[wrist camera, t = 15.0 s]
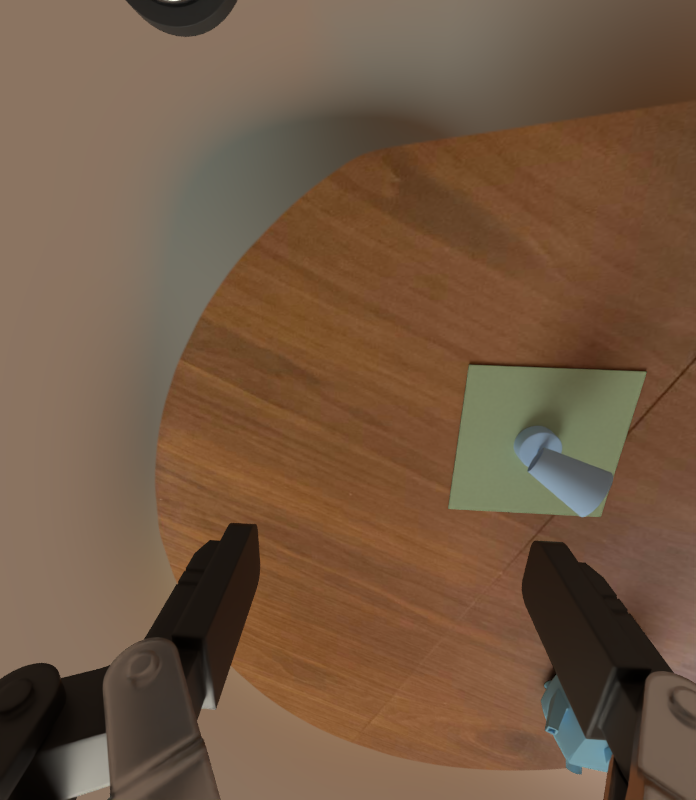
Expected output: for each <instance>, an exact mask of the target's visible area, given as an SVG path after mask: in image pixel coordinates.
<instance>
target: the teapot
mask: <svg viewBox="0 0 696 800" xmlns="http://www.w3.org/2000/svg"><path fill="white" fill-rule="evenodd" d="M544 687H545V688H546V691H545V693H544V695H543V697H542V699H541V703H542V708H543V712H544V715H545V718H546V726H545V731H547V732H549V733H551V734H553V736H554V738H555V740H556V742H557V743H558V745H559V747H560V749H561V751H562V753H563V755H564V756H565V758H566V768H567V769H568V770H570V771H571V772H573V773H576V774H582V767H585V768H590V769H594V770H598V771H603V772H608V766H609V761H610V758H611V756H612V751H611V749H610V747H609V745H608V743H607V741H606V740H594V739H586V738H585V736H584V734H583V732H582V729H581V727H580V725H579V723H578V721H577V718H576V716H575V714H574V712H573V709H572V707H571V705H570V703H569V701H568V698H567V696H566V694H565V692H564V690H563V687H562V685H561V683H560V681H559V679H558V676H557V674H556V675H555V677H554V678H553V679H552V681H548V682H546V683H545V685H544Z"/></svg>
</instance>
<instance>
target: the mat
mask: <svg viewBox="0 0 696 800" xmlns="http://www.w3.org/2000/svg"><path fill="white" fill-rule="evenodd" d="M646 373H647V372H646V371H622V370H597V369H571V368H545V367H520V366H494V365H469V368H468V375H467V382H466V388H465V395H464V402H463V409H462V416H461V423H460V430H459V437H458V444H457V451H456V458H455V464H454V471H453V478H452V485H451V492H450V499H449V506H448V509H460V510H479V511H498V512H517V513H536V514H555V515H574V516H579V515H578V514H577V513H575V512H574V511H573V510H572V509H571V508H570V507H568V506H567V505H566V504H565V503H564V502H563V501H561V500H560V499H559V498H558V497H557V496H555V495H554V494H553V493H552V492H551V491H550V490H548V489H547V488H546V487H545V486H544V485H543V484H541V483H540V482H539V481H538V480H537V479H535V478H534V477H533V476H532V475H531V474H530V473H528V472H527V470H528V467H527V466H526V465H524V464H523V463H522V461H521V460H520V459H519V457H518V456H517V455H516V453H515V451H514V441H515V439H516V437H517V436H518V434H519V433H520V432H521V431H523V430H524V429H526V428H528V427H531V426H544V427H546V428H548V429H550V430H551V431H552V432H553V433H554V434H555V435H556V436H557V437H558V438H559V439H560V441H561V443H562V453H561V454H564V455H566V456H569V457H572V458H574V459H577V460H580V461H582V462H585V463H587V464H590V465H593V466H595V467H598V468H601V469H603V470H606V471H609V472H611V473H612V474H613V476H614V473H615V470H616V467H617V464H618V461H619V458H620V454H621V451H622V448H623V445H624V442H625V439H626V436H627V432H628V429H629V426H630V423H631V420H632V417H633V414H634V410H635V407H636V404H637V401H638V398H639V395H640V392H641V388H642V385H643V382H644V379H645V376H646ZM608 492H609V491H608ZM607 495H608V493H607ZM607 495H606V497H605V498H604V500H603V501H602V502H601V504H600V505H599V506H598V507H597V508H596V509H595V510H594V511H593V512H592V513H590V514H589V515H587V516H592V517H601V514H602V511H603V508H604V505H605V502H606V498H607Z"/></svg>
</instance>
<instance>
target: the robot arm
mask: <svg viewBox="0 0 696 800" xmlns="http://www.w3.org/2000/svg"><path fill="white" fill-rule="evenodd" d="M151 1H153V2H155V3H157V4H160V5H163V6H167V7H175V8H176V7H184V6H188V5H191V4H193V3H195V2H197V1H198V0H151ZM259 575H260V556H259V541H258V529H257V525H256V524H242V523H230V524H229V525H228V527H227V529H226V531H225V533H224V535H223V537H222V539H221V540H220V541H214V540H209V541H208V542H207V543H206V544H205V545H204V546H202V547H201V548H200V549H199V550H198V551H197V552H195V554H194V555H193V557H192V559H191V561H190V562H189V564H188V566H187V567H186V571H184V572H183V574H182V576H181V578H180V579H179V581H178V585H177V584H176V586H175V588H174V590H173V591H172V593H171V595H170V596H169V598H168V600H167V601H166V603H165V605H164V607H163V608H162V610H161V612H160V614H159V615H158V617H157V619H156V620H155V622H154V624H153V626H152V627H151V629H150V630H149V632H148V634H147V636H146V637H145V638H144V640H142V641H139V642H137V643H135V644H133V645H131V646H130V647H128V648H127V649H125V650H124V651H123V652H122V653H121V654H120V655H119V656H118V657H117V658H116V659H115V660H114V661H113V662H112V664H111V665H109V666H107V667H103V668H100V669H96V670H93V671H89V672H84V673H81V674H76V675H72V676H69V677H64V678H61V677H60V675H59V672H58V670H57V669H56V668H55V667H54V666H53V665H50V664H46V663H36V664H32V665H27V666H24V667H21V668H19V669H17V670H15V671H13V672H11V673H9V674H8V675H6V676H4V677H3V678H1V679H0V800H76V798H77V796H80V795H83V794H86V793H89V792H92V791H95V790H98V789H101V788H104V787H107V786H110V798H108V800H221V799H220V796H219V792H218V789H217V785H216V781H215V778H214V774H213V771H212V767H211V763H210V759H209V756H208V752H207V749H206V746H205V742H204V740H203V738H202V737H201V734H200V731H199V727H198V723H197V719H198V716H199V714H200V711H201V709H215V710H216V708H217V704H218V702H219V699H220V696H221V693H222V690H223V687H224V684H225V681H226V678H227V675H228V672H229V669H230V666H231V663H232V660H233V657H234V654H235V651H236V648H237V645H238V642H239V639H240V636H241V633H242V630H243V627H244V624H245V621H246V619H247V616H248V613H249V610H250V607H251V604H252V601H253V598H254V595H255V592H256V589H257V585H258V581H259ZM522 594H523V599H524V603H525V605H526V608H527V610H528V612H529V614H530V617H531V619H532V621H533V623H534V626H535V628H536V630H537V632H538V634H539V637H540V639H541V641H542V643H543V645H544V648H545V650H546V652H547V654H548V656H549V659H550V661H551V663H552V665H553V667H554V670H555V672H556V674H557V676H558V679H559V681H560V683H561V685H562V687H563V690H564V692H565V694H566V696H567V698H568V701H569V703H570V705H571V707H572V709H573V712H574V714H575V716H576V718H577V721H578V723H579V725H580V727H581V729H582V732H583V734H584V736H585V738H586V739H594V740H606V741H607V743H608V745H609V747H610V749H611V751H612V756H611V758H610V761H609V766H608V773H607V779H606V786H605V792H604V799H603V800H696V683H694V682H692V681H690V680H689V679H687V678H684V677H682V676H680V675H677V674H674V672H673V671H672V670H671V669H670V667H669V666H668V664H667V663H666V662H665V660H664V659H663V658H662V656H661V655H660V654H659V652H658V651H657V650H656V648H655V647H654V645H653V644H652V643H651V641H650V640H649V639H648V637H647V636H646V635H645V633H644V632H643V630H642V629H641V628H640V626H639V625H638V624H637V622H636V621H635V620H634V618H633V617H632V616H631V614H628V612H627V609H626V607H625V606H624V605H623V603H622V602H621V601H620V599H617V595H616V594H615V592H614V591H613V590H612V588H611V587H610V586H609V584H608V583H607V582H606V580H605V579H604V578H603V577H602V576H601V575H600V574H598V573H597V572H596V571H595V570H594V569H592V568H591V567H590V566H589V565H587V564H586V563H581V562H578V561H577V560H576V558H575V557H574V555H573V554H572V552H571V551H570V549H569V548H568V547H567V545H566V544H565V543H563V542H550V541H534V542H533V543H532V545H531V548H530V552H529V556H528V560H527V564H526V568H525V572H524V576H523V580H522Z"/></svg>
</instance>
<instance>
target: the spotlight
mask: <svg viewBox="0 0 696 800" xmlns="http://www.w3.org/2000/svg"><path fill="white" fill-rule="evenodd" d="M514 451H515V453H516V455H517V456H518V457H519V459H520V460H521V461H522V463H523V464H524V465H526V466H527V467H528V470H527V472H528V473H530V474H531V475H532V476H533V477H534V478H535V479H537V480H538V481H539V482H540V483H541V484H543V485H544V486H545V487H546V488H547V489H548V490H550V491H551V492H552V493H553V494H554V495H555V496H557V497H558V498H559V499H560V500H561V501H563V502H564V503H565V504H566V505H567V506H568V507H570V508H571V509H572V510H573V511H574V512H575V513H577V514H578V515H579V516H580V517H585V516H587V515H589V514H590V513H592V512H593V511H594V510H595V509H596V508H597V507H598V506H599V505H600V504H601V502H602V501H603V500H604V498H605V497H606V495H607V493H608V491H609V490H610V487H611V485H612V481H613V474H612V473H611V472H609V471H606V470H603V469H601V468H598V467H595V466H593V465H590V464H587V463H585V462H582V461H580V460H577V459H574V458H572V457H569V456H566V455H564V454H561V453H562V443H561V441H560V439H559V438H558V437H557V436H556V435H555V434H554V433H553V432H552V431H551V430H550V429H548V428H546V427H544V426H531V427H528V428H526V429H524V430H523V431H521V432H520V433H519V434H518V436H517V437H516V439H515V441H514Z"/></svg>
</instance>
